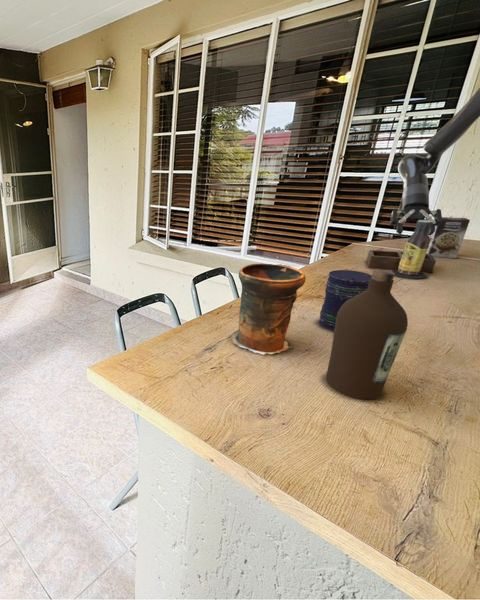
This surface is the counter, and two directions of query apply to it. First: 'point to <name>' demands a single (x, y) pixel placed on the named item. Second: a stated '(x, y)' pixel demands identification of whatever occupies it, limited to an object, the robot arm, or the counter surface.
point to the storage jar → (341, 294)
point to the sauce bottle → (415, 249)
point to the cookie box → (448, 237)
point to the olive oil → (367, 339)
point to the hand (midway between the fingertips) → (415, 233)
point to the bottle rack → (395, 261)
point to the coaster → (419, 276)
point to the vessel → (266, 306)
